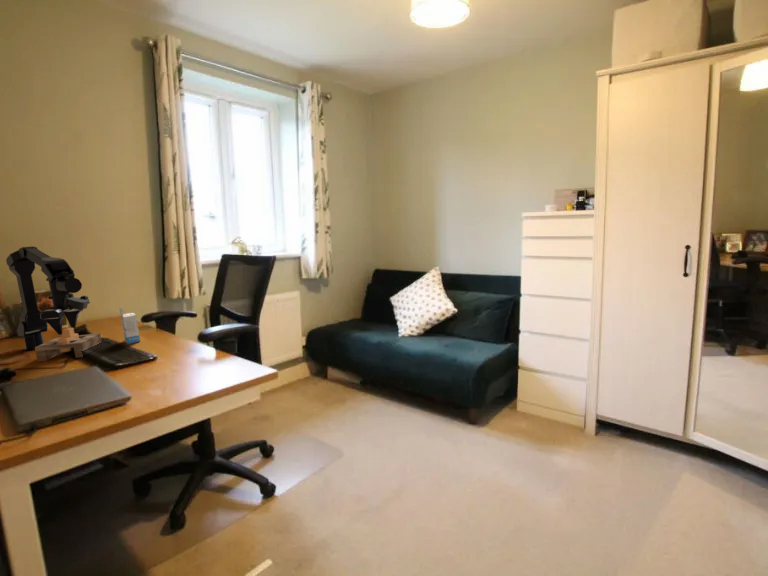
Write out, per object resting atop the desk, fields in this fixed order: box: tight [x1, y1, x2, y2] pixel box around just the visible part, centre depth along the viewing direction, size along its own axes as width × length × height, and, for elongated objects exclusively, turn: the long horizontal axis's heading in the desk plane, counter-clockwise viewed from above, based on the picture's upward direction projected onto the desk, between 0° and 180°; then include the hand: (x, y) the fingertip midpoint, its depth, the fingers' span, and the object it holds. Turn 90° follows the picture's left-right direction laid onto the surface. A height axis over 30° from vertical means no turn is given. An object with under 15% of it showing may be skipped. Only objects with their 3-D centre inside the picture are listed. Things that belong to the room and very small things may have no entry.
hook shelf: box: [34, 333, 103, 362], centre depth 164 cm, size 14×16×6 cm
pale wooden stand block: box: [58, 327, 79, 353], centre depth 164 cm, size 8×3×8 cm, turn 9°
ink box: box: [119, 307, 141, 345], centre depth 177 cm, size 8×5×15 cm, turn 39°
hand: (67, 331), depth 163 cm, fingers open, 9 cm apart
